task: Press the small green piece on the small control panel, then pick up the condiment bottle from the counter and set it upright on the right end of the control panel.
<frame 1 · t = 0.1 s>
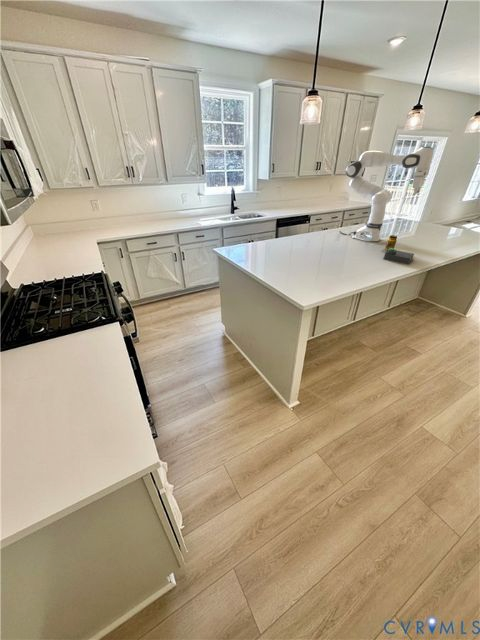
hand: (416, 193, 195), 39 cm above the countertop, tool pointing down, fingers open, 8 cm apart
control panel: (397, 259, 186), on the countertop
small green piece: (391, 249, 184), point 6 cm above the countertop, slide at 0.1 cm
condiment: (388, 251, 201), on the countertop
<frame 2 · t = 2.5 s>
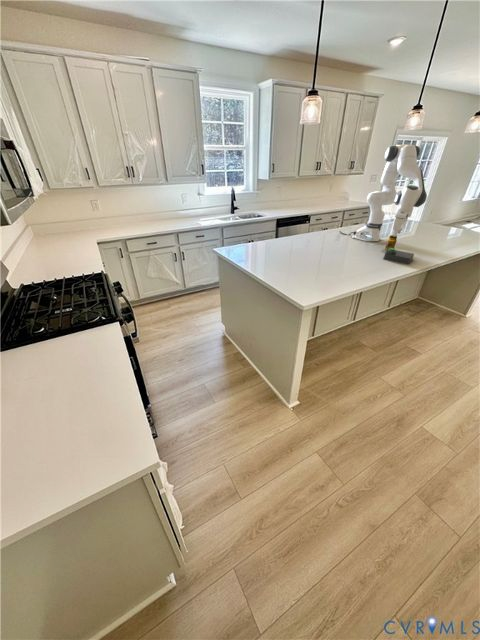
hand: (396, 234, 178), 17 cm above the countertop, tool pointing down, fingers open, 7 cm apart
nothing on the countertop moved.
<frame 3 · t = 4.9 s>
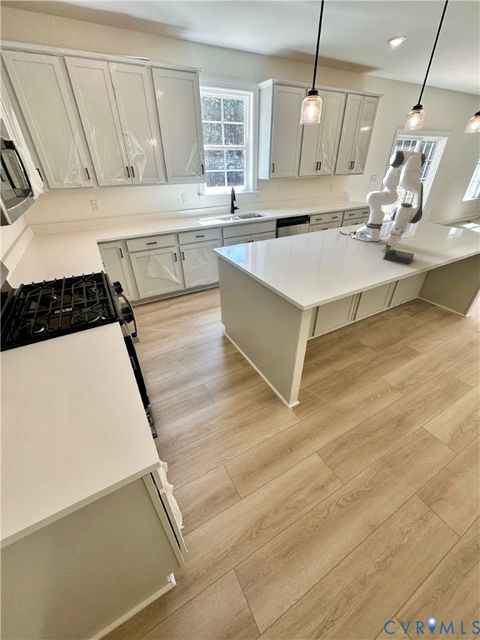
hand: (391, 249, 183), 7 cm above the countertop, tool pointing down, fingers closed, pressing on small green piece
small green piece: (391, 250, 184), point 6 cm above the countertop, slide at -0.3 cm, touching gripper
everything else where it was.
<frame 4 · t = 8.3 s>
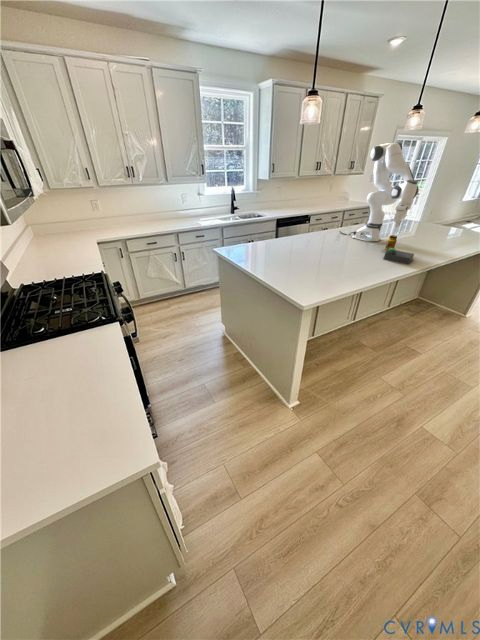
hand: (397, 226, 191), 19 cm above the countertop, tool pointing down, fingers open, 3 cm apart
small green piece: (391, 249, 184), point 6 cm above the countertop, slide at 0.1 cm
everything else where it was.
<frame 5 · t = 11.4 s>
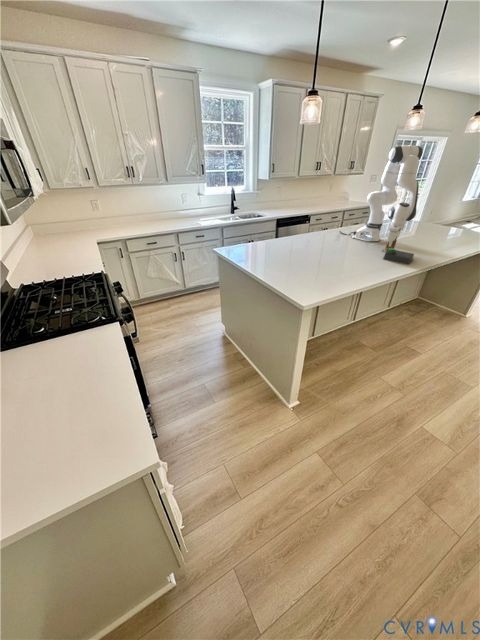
hand: (391, 245, 198), 5 cm above the countertop, tool pointing down, fingers closed on condiment, 6 cm apart
condiment: (389, 251, 202), on the countertop, touching gripper
everything else where it was.
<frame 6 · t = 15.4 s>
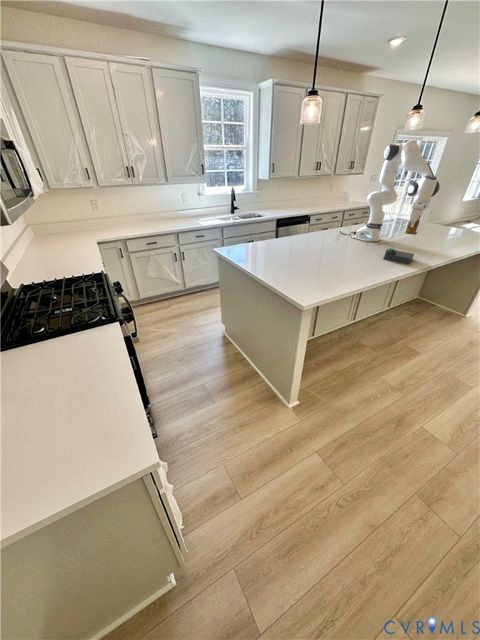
hand: (413, 226, 174), 23 cm above the countertop, tool pointing down, fingers closed on condiment, 6 cm apart
condiment: (410, 233, 178), point 18 cm above the countertop, touching gripper
everything else where it was.
when the fingers open (9 cm above the countertop, at t = 19.4 s): condiment stays where it is, resting on control panel.
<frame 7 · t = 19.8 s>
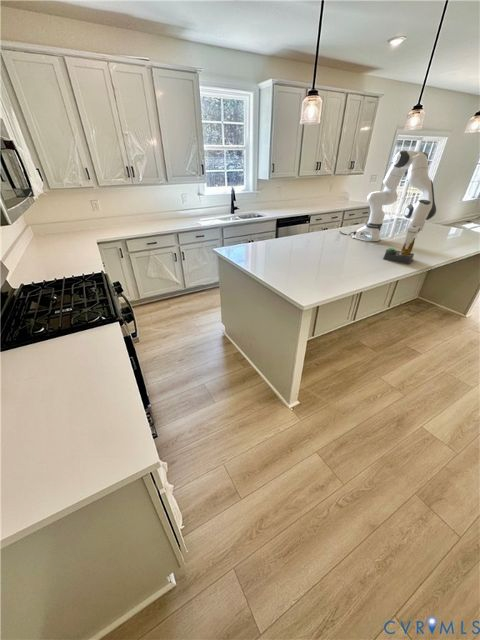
hand: (408, 247, 179), 10 cm above the countertop, tool pointing down, fingers open, 8 cm apart
condiment: (405, 254, 183), point 4 cm above the countertop, touching control panel
everything else where it was.
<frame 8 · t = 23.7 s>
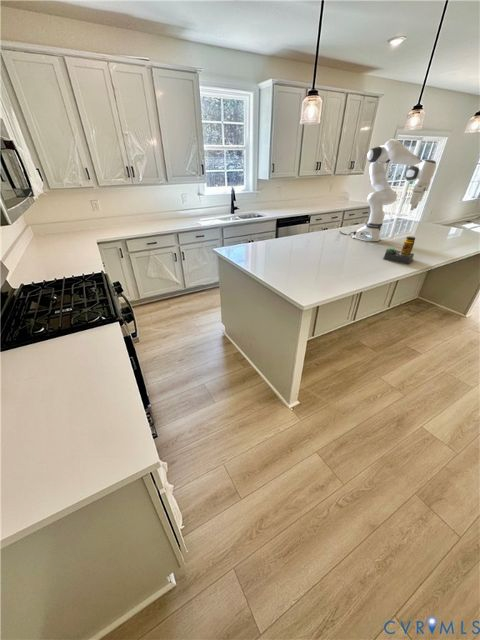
hand: (413, 209, 183), 31 cm above the countertop, tool pointing down, fingers open, 8 cm apart
nothing on the countertop moved.
at the end: small green piece pushed in 1.1 cm at the most during the clip, back to where it started at the end; condiment inside the target area on the control panel (1.8 cm from its centre), point 4.0 cm above the control panel's base; condiment tilted 0° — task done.
